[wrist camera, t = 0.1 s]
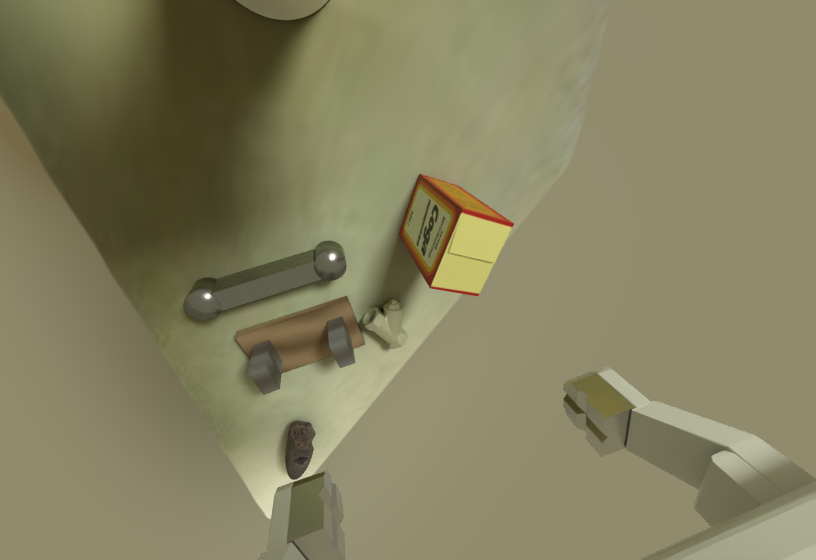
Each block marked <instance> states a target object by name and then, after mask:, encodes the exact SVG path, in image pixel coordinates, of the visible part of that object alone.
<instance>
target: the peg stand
mask: <svg viewBox="0 0 816 560" xmlns="http://www.w3.org/2000/svg"><path fill="white" fill-rule="evenodd" d="M235 338H236V340H237V341H238V343H239V344H240V345H241V347H242V348H243V350H244V351H245V352H246V354H247V355H248V357H249V358H250V359H251V361H250V365H249V370H248V374H249V376H250V377H251V378H252V380H253V381H254V382H255V384H256V385H257V386H258V388H259V389H260V391H261V392H262V393H263V395H264V394H267V393H270V392H273V391H275V390H278V389H280V382H281V373H284V372H287V371H289V370H292V369H295V368H298V367H301V366H304V365H307V364H310V363H313V362H316V361H319V360H322V359H325V358H328V357H330V356H333V355H334V357H335V359H336V361H337V363H338V365H339V367H340V368H342V367H345V366H348V365H351V364H353V363H355V357H354V351H353V349H354V348H357V347H360V346H363V345H365V341H364V337H363V335H362V332H361V330H360V327H359V325H358V322H357V320H356V317H355V315H354V312H353V310H352V307H351V305H350V302H349V300H348V297H347V296H345V297H342V298H339V299H336V300H333V301H329V302H326V303H323V304H320V305H317V306H314V307H311V308H308V309H305V310H302V311H299V312H295V313H292V314H289V315H286V316H283V317H280V318H277V319H274V320H271V321H268V322H265V323H261V324H258V325H255V326H252V327H249V328H246V329H243V330H240V331H237V333H236V336H235Z"/></svg>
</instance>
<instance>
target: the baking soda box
mask: <svg viewBox="0 0 816 560" xmlns="http://www.w3.org/2000/svg"><path fill="white" fill-rule="evenodd" d="M513 225H514V223H512V222H511V221H509V220H508V219H506V218H505V217H503V216H502V215H500V214H499V213H497V212H496V211H495V210H493V209H492V208H490V207H489V206H487V205H486V204H484V203H483V202H481V201H480V200H478V199H477V198H476V197H474V196H473V195H471V194H470V193H468V192H467V191H465V190H464V189H462V188H461V187H459V186H457V185H453V184H450V183H447V182H444V181H441V180H438V179H434V178H431V177H428V176H425V175H422V174H419V177H418V180H417V183H416V186H415V189H414V192H413V195H412V198H411V201H410V204H409V207H408V210H407V212H406V215H405V218H404V221H403V224H402V227H401V230H400V233H399V236H400V238H401V239H402V241H403V243H404V244H405V246H406V248H407V250H408V251H409V253H410V255H411V256H412V258H413V260H414V262H415V263H416V265H417V267H418V268H419V270H420V272H421V274H422V275H423V277H424V279H425V280H426V282H427V284H428V285H429V287H430V288H432V289H438V290H444V291H450V292H456V293H462V294H468V295H473V296H478V295H479V293H480V291H481V289H482V287H483V285H484V283H485V281H486V279H487V277H488V275H489V273H490V271H491V269H492V267H493V265H494V263H495V261H496V259H497V257H498V255H499V253H500V251H501V249H502V247H503V245H504V243H505V241H506V239H507V237H508V235H509V233H510V231H511V229H512V227H513Z"/></svg>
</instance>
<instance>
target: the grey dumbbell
mask: <svg viewBox="0 0 816 560" xmlns="http://www.w3.org/2000/svg"><path fill="white" fill-rule="evenodd" d="M345 271H346V261H345V256H344V251H343V248H342V247H341V246H340V245H339V244H338V243H336V242H334V241H324V242H321V243H320V244H318V245H317V246H316V248H315V250H314V249H313V250H310V251H306V252H303V253H300V254H297V255H293V256H290V257H287V258H283V259H280V260H277V261H274V262H270V263H267V264H264V265H261V266H257V267H254V268H251V269H247V270H244V271H241V272H238V273H234V274H231V275H228V276H225V277H221V278H218V279H214V278H202V279H200V280H198V281H196V282H195V284H194V285H193V287H192V289H191V290H190V292H189V294H188V296H187V297H186V299H185V301H184V309H185V311H186V312H187V313H188V314H189V315H190V316H192V317H193V318H196V319H200V320H209V319H213V318H215V317H217V316H218V315H219V314H220V312H221V310H222V311H223V310H227V309H230V308H233V307H236V306H239V305H242V304H246V303H249V302H252V301H255V300H258V299H261V298H265V297H268V296H271V295H274V294H277V293H280V292H284V291H287V290H290V289H293V288H296V287H299V286H303V285H306V284H309V283H312V282H315V281H318V280H322V279H324V280H336V279H338V278H340V277H341V276H342V275H343V274H344V273H345ZM321 278H322V279H321Z"/></svg>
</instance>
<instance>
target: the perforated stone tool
mask: <svg viewBox="0 0 816 560" xmlns="http://www.w3.org/2000/svg"><path fill="white" fill-rule="evenodd" d="M314 436H315V431H314V429H313V427H312V425H311V424H310V423H307V422H301V421H295V422H293V423H292V425H291V428H290V431H289V434H288V439H287V444H286V453H285V462H286V469H287V473H288V475H289V477H290V478H291V479H293V480H295V479H298V478H299V477H301V476H302V474H303V473H304V472H305V470H306V469H307V467H308V465H309V463H310V460H311V458H312V454H313V450H314V449H313V446H312V440H313V438H314Z"/></svg>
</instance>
